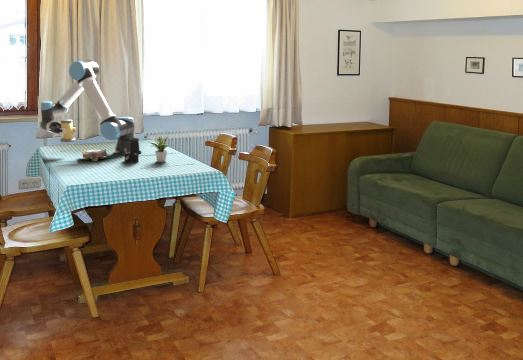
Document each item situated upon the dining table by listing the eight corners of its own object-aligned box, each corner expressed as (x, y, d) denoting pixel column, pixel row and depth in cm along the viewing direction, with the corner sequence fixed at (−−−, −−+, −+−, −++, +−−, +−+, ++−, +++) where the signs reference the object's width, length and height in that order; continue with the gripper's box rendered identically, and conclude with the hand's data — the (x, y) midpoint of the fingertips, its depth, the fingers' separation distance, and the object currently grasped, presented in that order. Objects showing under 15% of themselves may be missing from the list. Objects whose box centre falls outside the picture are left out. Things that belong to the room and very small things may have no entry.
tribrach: (105, 156, 404) (105, 149, 403) (107, 160, 391) (106, 152, 390) (82, 157, 400) (82, 150, 399) (83, 161, 387) (83, 154, 386)
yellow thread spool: (75, 139, 407) (73, 119, 404) (75, 141, 398) (74, 120, 395) (60, 140, 404) (58, 119, 401) (60, 142, 396) (58, 121, 393)
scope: (123, 138, 388) (139, 137, 391) (124, 160, 391) (140, 159, 394) (124, 140, 380) (141, 139, 383) (125, 163, 383) (142, 162, 386)
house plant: (162, 157, 400) (161, 131, 397) (178, 160, 392) (177, 133, 389) (145, 161, 389) (144, 134, 385) (162, 163, 381) (161, 136, 378)
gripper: (69, 131, 420) (85, 135, 403) (40, 134, 407) (56, 138, 390) (68, 120, 418) (85, 123, 401) (39, 122, 405) (55, 126, 389)
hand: (70, 130), depth 396 cm, fingers closed on yellow thread spool, 7 cm apart
